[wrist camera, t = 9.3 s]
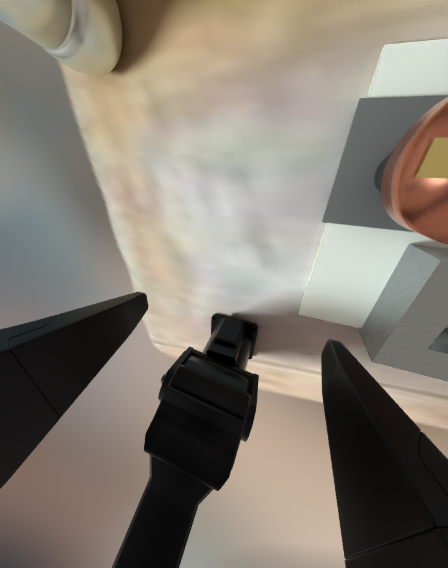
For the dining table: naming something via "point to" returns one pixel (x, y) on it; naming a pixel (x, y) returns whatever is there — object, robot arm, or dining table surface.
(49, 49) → the plastic bottle
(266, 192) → the dining table surface
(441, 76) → the board
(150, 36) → the dining table surface
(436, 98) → the pad
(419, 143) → the copper disc with stripe
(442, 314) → the metal block
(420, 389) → the dining table surface
